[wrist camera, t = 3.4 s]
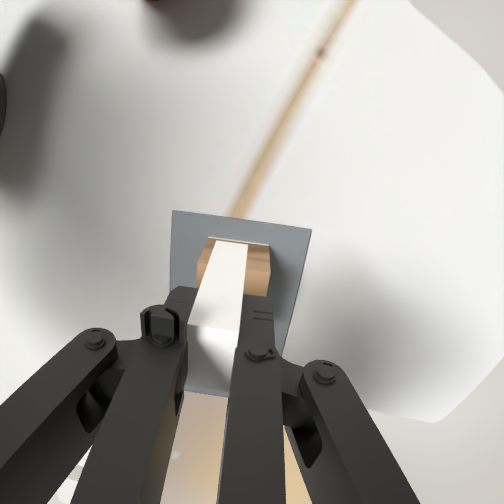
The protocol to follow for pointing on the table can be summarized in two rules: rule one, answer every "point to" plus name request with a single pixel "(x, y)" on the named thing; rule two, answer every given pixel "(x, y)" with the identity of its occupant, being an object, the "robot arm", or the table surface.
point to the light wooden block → (255, 265)
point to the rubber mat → (275, 235)
